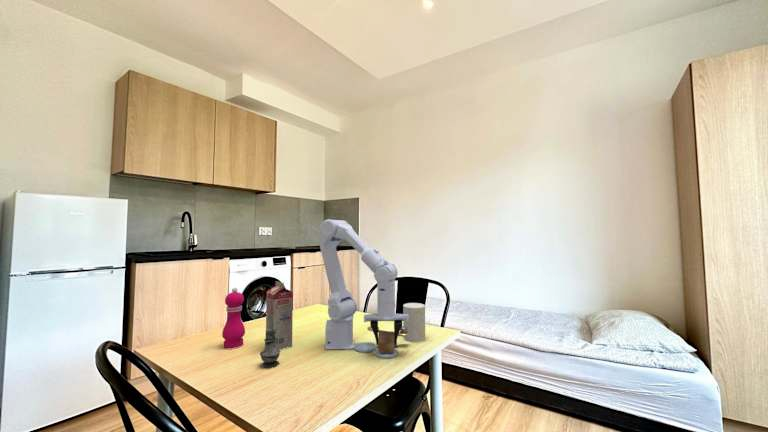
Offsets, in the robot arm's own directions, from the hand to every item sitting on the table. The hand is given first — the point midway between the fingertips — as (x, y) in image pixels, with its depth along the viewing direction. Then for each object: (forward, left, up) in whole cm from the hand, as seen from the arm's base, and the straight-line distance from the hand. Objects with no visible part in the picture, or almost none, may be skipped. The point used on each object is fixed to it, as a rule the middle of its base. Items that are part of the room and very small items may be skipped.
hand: (386, 343), depth 101 cm
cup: (+11, +15, -3) cm, 19 cm away
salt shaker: (-35, -7, -3) cm, 36 cm away
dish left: (-7, +5, -3) cm, 9 cm away
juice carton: (-37, +8, -3) cm, 38 cm away
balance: (+1, +7, -3) cm, 8 cm away
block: (0, 0, -2) cm, 2 cm away
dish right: (0, 0, -3) cm, 3 cm away
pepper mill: (-53, +9, -3) cm, 54 cm away
